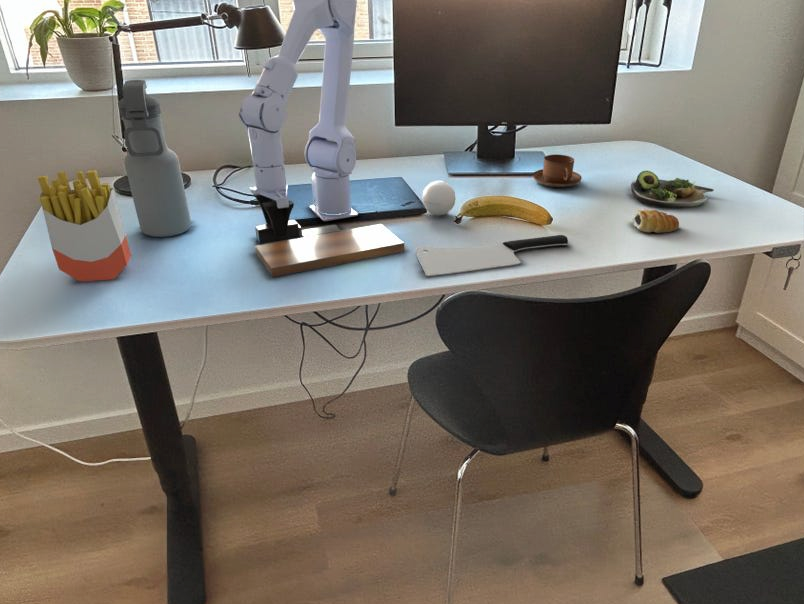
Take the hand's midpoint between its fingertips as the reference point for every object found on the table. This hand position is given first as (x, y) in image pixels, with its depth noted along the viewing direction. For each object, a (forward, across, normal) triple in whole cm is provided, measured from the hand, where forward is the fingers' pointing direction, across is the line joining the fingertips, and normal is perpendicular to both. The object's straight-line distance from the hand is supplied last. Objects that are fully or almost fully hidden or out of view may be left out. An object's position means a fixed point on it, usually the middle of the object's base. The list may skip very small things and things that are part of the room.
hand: (277, 231), depth 131 cm
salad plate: (+2, +15, +90) cm, 91 cm away
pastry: (+2, +29, +73) cm, 79 cm away
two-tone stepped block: (+1, +1, +4) cm, 5 cm away
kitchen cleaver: (+2, +27, +35) cm, 44 cm away
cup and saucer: (+2, -4, +72) cm, 72 cm away
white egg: (+2, +2, +34) cm, 34 cm away
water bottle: (+2, -14, -19) cm, 24 cm away
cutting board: (+1, +12, +7) cm, 14 cm away
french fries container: (+2, +3, -33) cm, 33 cm away
